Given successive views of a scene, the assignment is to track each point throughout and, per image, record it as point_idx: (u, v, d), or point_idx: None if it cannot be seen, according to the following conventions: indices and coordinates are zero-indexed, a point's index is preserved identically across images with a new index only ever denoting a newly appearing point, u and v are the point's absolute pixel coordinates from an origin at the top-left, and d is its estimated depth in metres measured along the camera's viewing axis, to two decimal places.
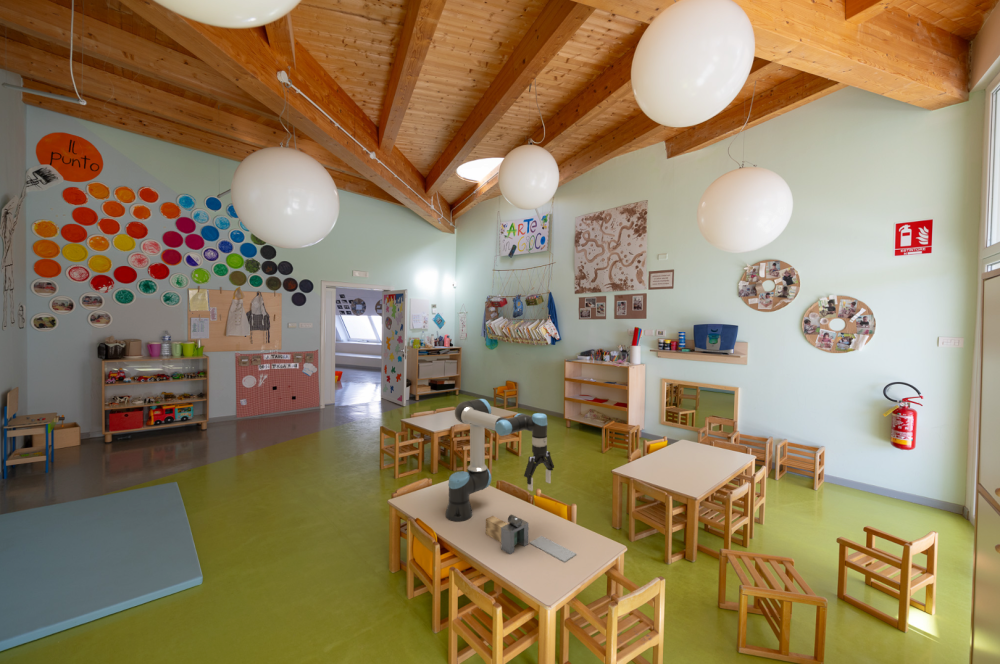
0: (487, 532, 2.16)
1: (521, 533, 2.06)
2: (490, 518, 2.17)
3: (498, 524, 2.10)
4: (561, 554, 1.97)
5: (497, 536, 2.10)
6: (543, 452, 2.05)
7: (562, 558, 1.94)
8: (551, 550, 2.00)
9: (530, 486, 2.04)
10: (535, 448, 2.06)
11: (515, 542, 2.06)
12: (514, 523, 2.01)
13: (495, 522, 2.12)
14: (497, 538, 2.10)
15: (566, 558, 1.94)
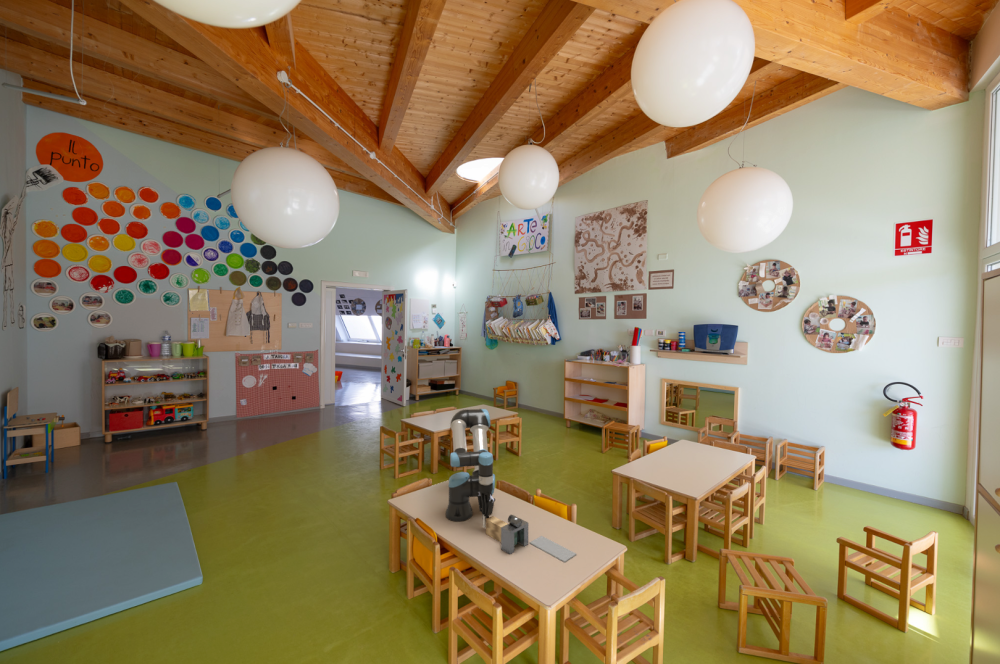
0: (487, 532, 2.15)
1: (521, 533, 2.06)
2: (490, 518, 2.17)
3: (499, 525, 2.10)
4: (561, 554, 1.97)
5: (497, 537, 2.10)
6: (479, 489, 2.18)
7: (562, 558, 1.94)
8: (551, 550, 2.00)
9: None
10: None
11: (515, 542, 2.06)
12: (514, 523, 2.01)
13: (495, 522, 2.12)
14: (497, 538, 2.10)
15: (566, 558, 1.94)
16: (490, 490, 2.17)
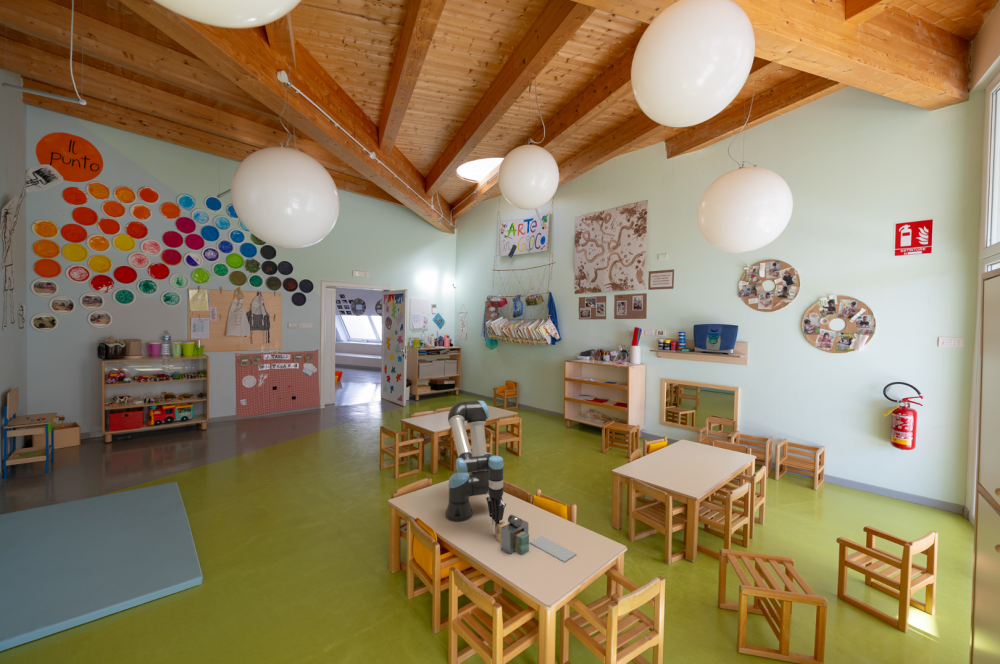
0: (498, 538, 2.10)
1: None
2: (501, 524, 2.11)
3: None
4: (561, 554, 1.97)
5: None
6: (489, 493, 2.12)
7: (562, 558, 1.94)
8: (551, 550, 2.00)
9: None
10: None
11: (527, 549, 2.00)
12: (514, 523, 2.01)
13: None
14: None
15: (566, 558, 1.94)
16: (500, 495, 2.11)
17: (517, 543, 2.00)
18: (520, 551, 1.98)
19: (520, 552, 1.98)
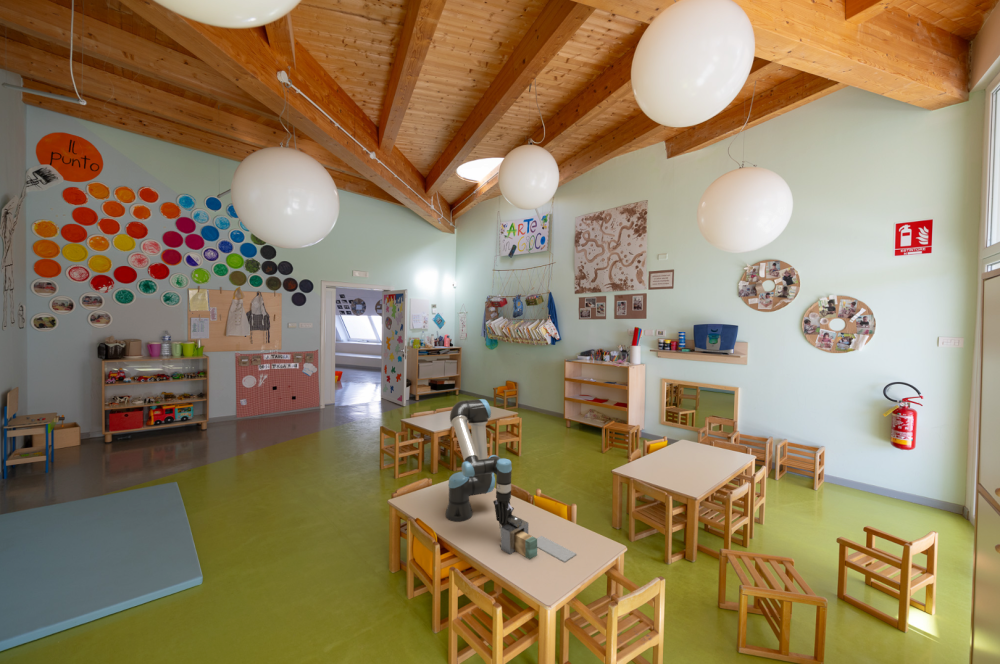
0: None
1: None
2: None
3: (517, 535, 2.00)
4: (561, 554, 1.97)
5: (516, 547, 2.00)
6: (496, 497, 2.08)
7: (562, 558, 1.94)
8: (551, 550, 2.00)
9: None
10: None
11: (535, 553, 1.97)
12: (514, 523, 2.01)
13: None
14: (516, 549, 2.00)
15: (566, 558, 1.94)
16: (508, 498, 2.07)
17: (525, 547, 1.96)
18: (528, 556, 1.95)
19: (528, 557, 1.95)
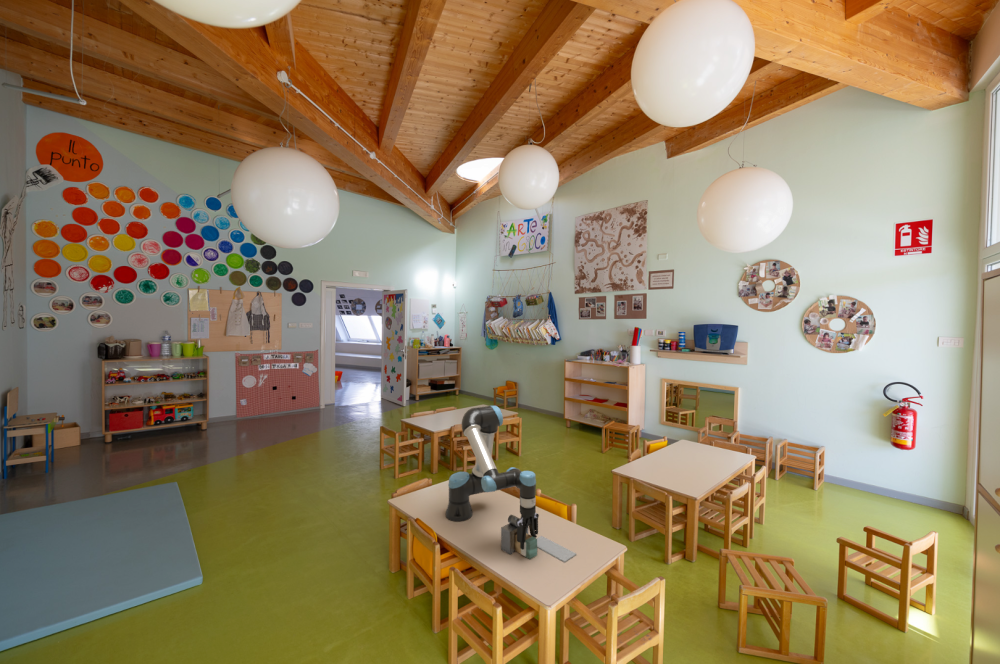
0: None
1: None
2: None
3: None
4: (561, 554, 1.97)
5: (516, 547, 2.00)
6: (531, 513, 1.94)
7: (562, 558, 1.94)
8: (551, 550, 2.00)
9: (523, 551, 1.96)
10: (523, 509, 1.94)
11: (535, 553, 1.96)
12: (514, 523, 2.01)
13: None
14: (516, 549, 2.00)
15: (566, 558, 1.94)
16: None
17: None
18: (528, 556, 1.94)
19: (528, 557, 1.94)
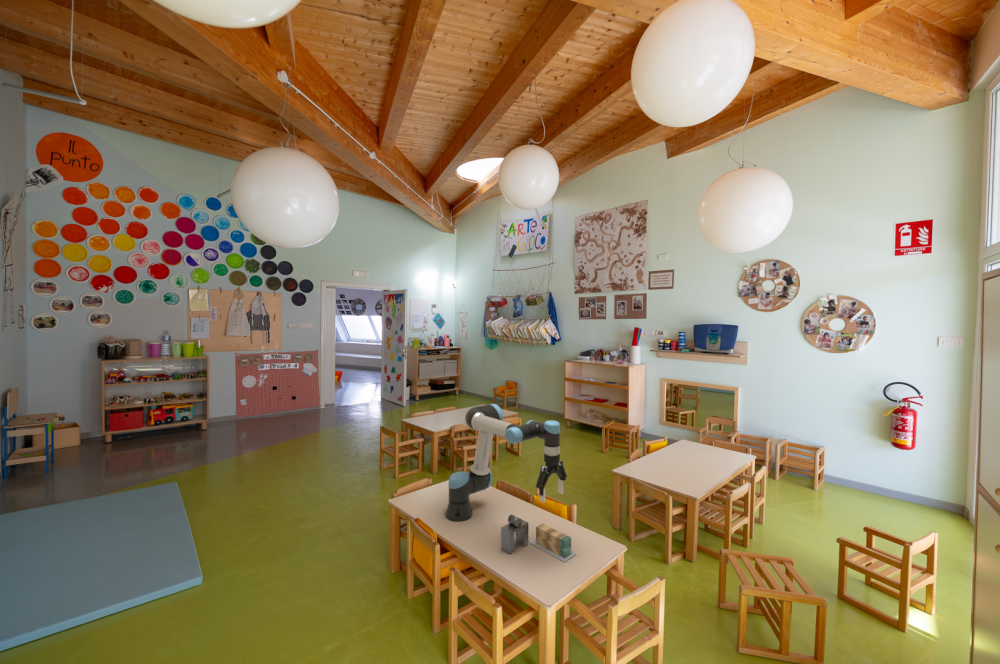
0: (537, 541, 2.06)
1: (521, 533, 2.06)
2: (540, 526, 2.07)
3: (551, 533, 2.00)
4: None
5: (550, 546, 2.00)
6: (556, 461, 1.95)
7: (562, 558, 1.94)
8: None
9: (542, 497, 1.94)
10: (547, 457, 1.96)
11: (569, 552, 1.97)
12: (514, 523, 2.01)
13: (547, 531, 2.03)
14: (549, 547, 2.00)
15: (566, 558, 1.94)
16: None
17: (559, 546, 1.96)
18: (563, 554, 1.95)
19: (563, 555, 1.95)
